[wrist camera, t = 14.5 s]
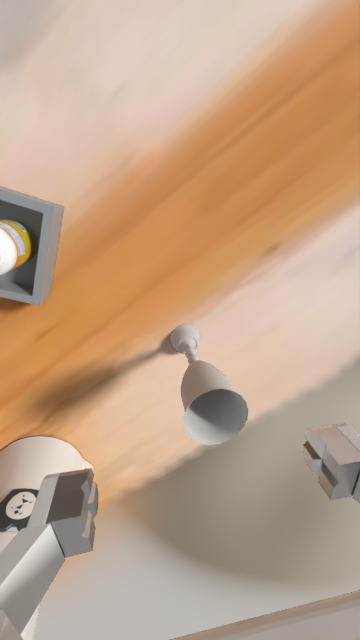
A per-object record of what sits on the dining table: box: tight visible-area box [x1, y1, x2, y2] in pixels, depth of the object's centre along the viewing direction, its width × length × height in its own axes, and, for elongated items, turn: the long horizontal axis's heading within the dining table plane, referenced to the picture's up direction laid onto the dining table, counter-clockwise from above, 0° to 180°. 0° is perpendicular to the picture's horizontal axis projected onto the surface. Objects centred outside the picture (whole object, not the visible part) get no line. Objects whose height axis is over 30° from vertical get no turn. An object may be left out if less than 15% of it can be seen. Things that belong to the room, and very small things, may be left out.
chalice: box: [170, 324, 248, 445], centre depth 35 cm, size 7×7×18 cm
